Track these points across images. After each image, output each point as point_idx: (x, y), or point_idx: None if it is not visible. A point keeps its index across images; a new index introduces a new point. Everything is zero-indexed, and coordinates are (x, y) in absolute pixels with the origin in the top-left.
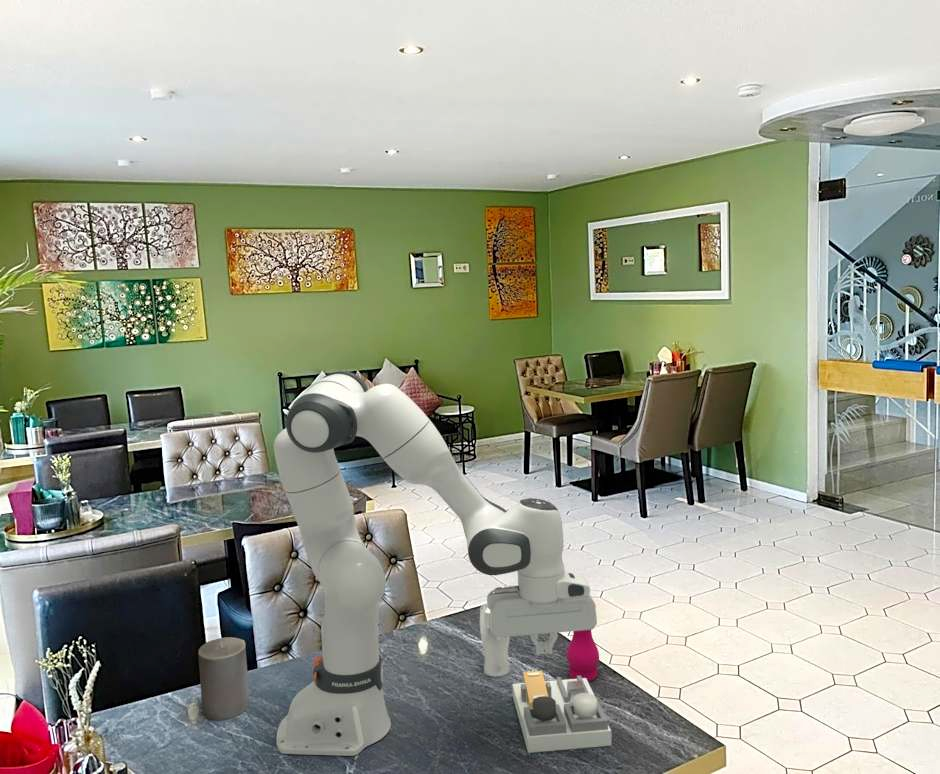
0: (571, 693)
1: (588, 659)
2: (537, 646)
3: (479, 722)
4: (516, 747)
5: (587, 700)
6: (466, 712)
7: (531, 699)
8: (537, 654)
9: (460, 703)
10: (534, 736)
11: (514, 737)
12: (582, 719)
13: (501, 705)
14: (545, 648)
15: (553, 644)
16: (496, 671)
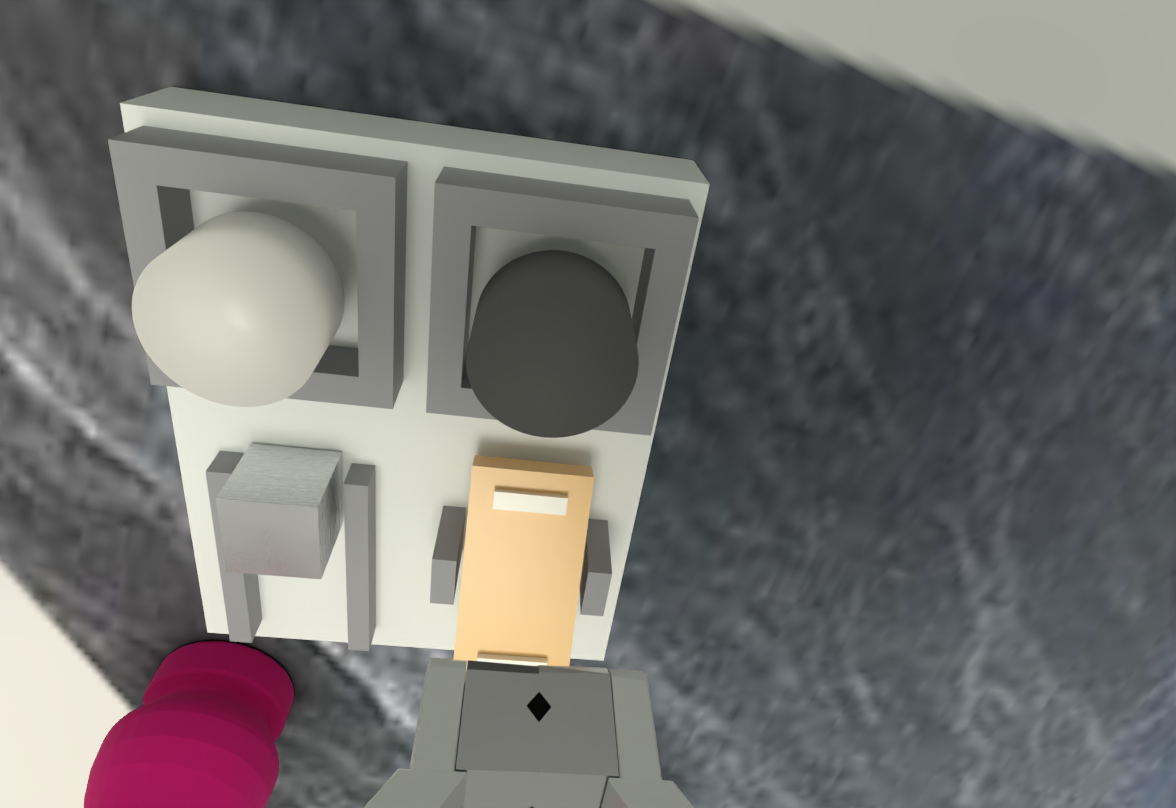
0: (318, 487)
1: (155, 737)
2: (658, 792)
3: (824, 473)
4: (735, 229)
5: (210, 304)
6: (846, 552)
7: (576, 496)
8: (645, 678)
9: (842, 613)
10: (661, 187)
11: (710, 318)
12: None
13: (672, 565)
14: (526, 743)
15: (380, 790)
16: None
